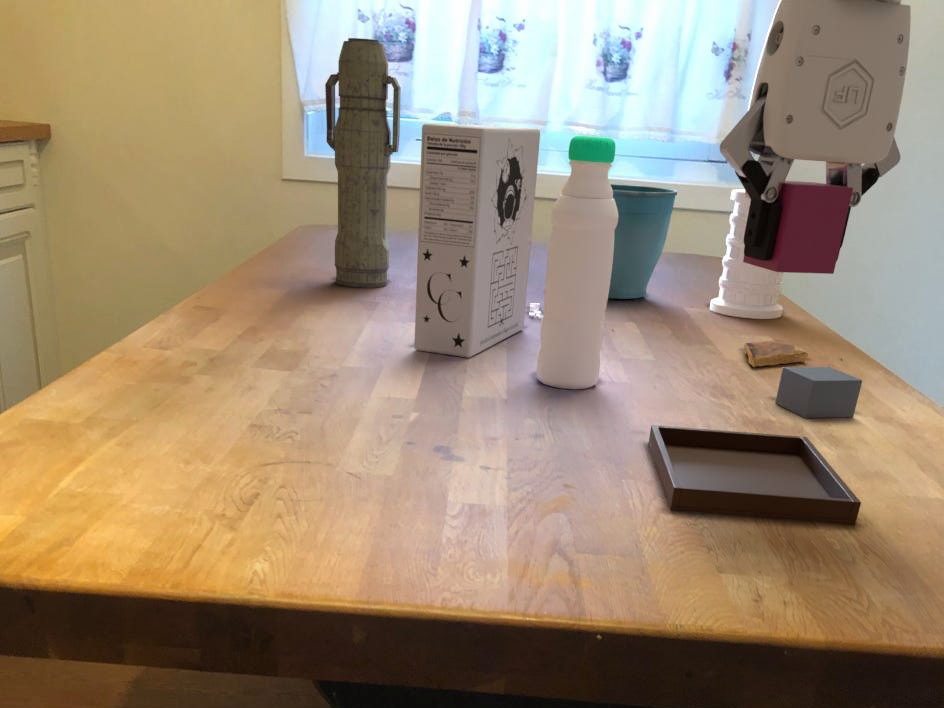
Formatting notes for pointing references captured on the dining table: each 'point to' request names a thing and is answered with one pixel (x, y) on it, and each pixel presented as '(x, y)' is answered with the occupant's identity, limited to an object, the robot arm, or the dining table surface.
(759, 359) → the tan flat slab
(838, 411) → the base block
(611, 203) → the water bottle
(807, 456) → the tray
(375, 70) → the thermos
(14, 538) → the dining table surface
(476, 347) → the cereal box
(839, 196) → the mulberry block
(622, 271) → the flower pot
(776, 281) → the decorative container
